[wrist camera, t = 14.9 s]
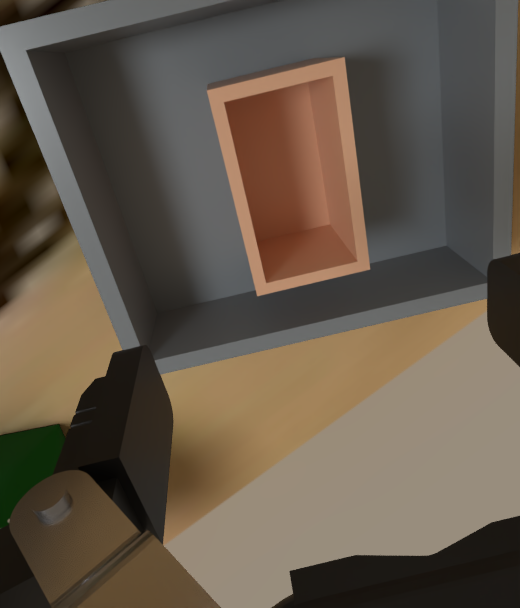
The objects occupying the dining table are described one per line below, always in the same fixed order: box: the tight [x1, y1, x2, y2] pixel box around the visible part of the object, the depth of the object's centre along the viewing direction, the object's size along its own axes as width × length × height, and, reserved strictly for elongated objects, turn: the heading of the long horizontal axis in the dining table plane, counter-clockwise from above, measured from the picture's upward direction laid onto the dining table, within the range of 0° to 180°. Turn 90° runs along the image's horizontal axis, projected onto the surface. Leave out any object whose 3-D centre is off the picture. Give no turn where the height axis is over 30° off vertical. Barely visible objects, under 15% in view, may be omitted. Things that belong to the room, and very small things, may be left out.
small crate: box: [207, 57, 370, 296], centre depth 26 cm, size 10×6×7 cm, turn 12°
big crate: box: [0, 0, 518, 374], centre depth 27 cm, size 18×22×7 cm
